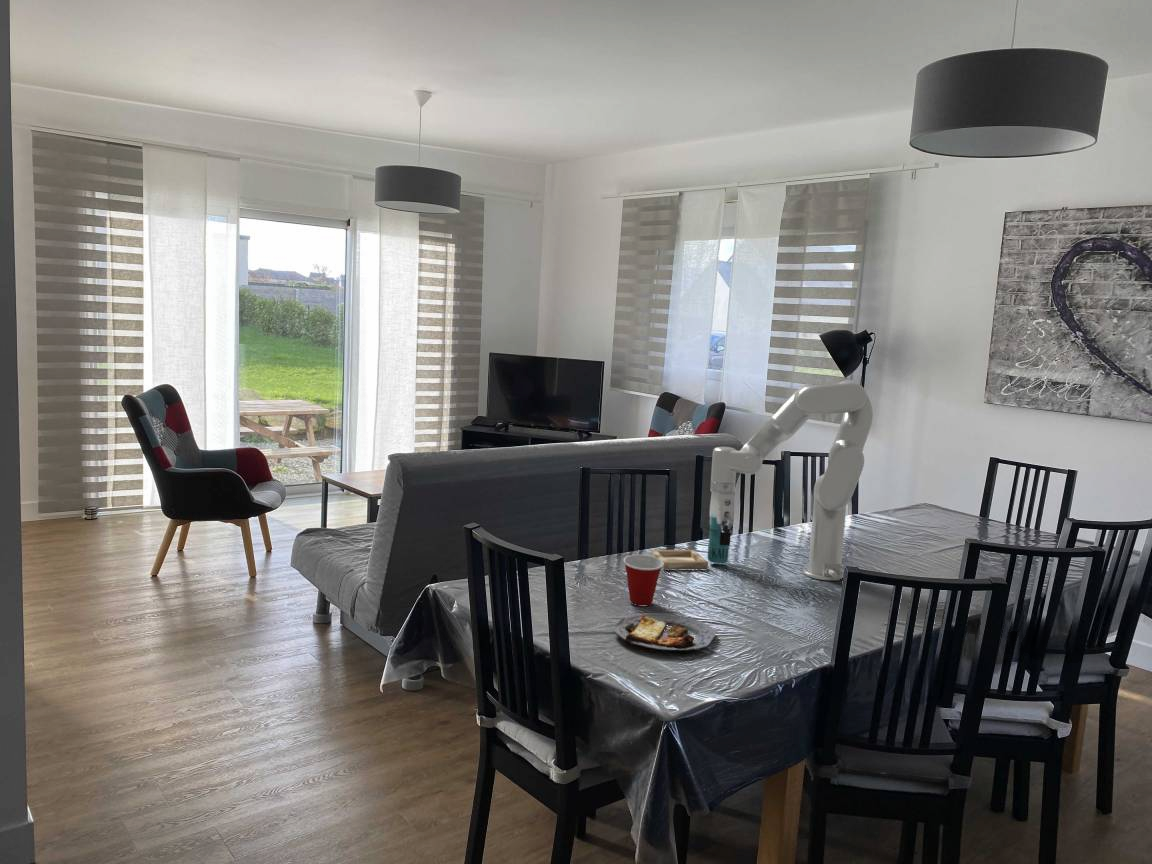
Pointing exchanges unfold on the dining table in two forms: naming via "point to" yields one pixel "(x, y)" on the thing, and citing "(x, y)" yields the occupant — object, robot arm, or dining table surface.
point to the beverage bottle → (716, 543)
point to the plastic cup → (642, 577)
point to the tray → (680, 559)
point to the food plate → (651, 631)
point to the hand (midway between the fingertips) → (719, 540)
